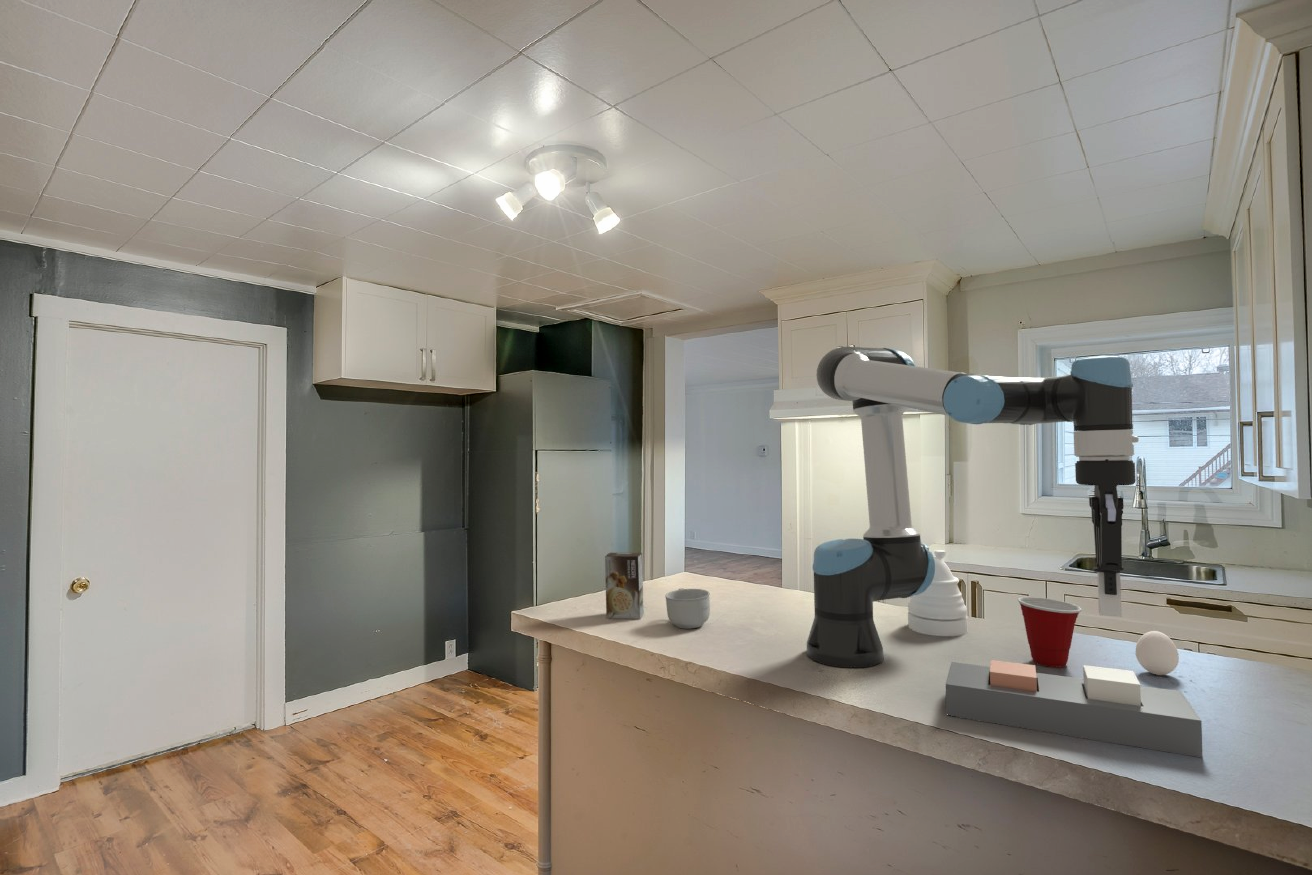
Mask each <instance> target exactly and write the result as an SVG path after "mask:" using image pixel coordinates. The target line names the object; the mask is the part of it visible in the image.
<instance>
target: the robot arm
mask: <svg viewBox="0 0 1312 875" xmlns="http://www.w3.org/2000/svg"><path fill="white" fill-rule="evenodd" d="M816 368H817V369H816V375H815V376H816V381H817V384H818V386H819V389H821V391H822V393H824V394H825V395H826V396H828V397H830V398H832V399H835V400H838V401H848V402H849V401H850V402H852V411H853V413H854V414H856V415H857V417H859V418H860V422H861V435H862V436H861V437H862V447H863V459H864V460H863V461H864V472H865V485H866V495H867V496H866V498H867V507H868V508H867V509H868V521H869V528H868V529H867V530H866V531H865V532H864V533H863V535H862V538H845V539H842V538H841V539H834V540H829V541H826V542H822V543H821V544H819V545H817V547H816V548H815V549H814V552H813V564H812V571H813V594H814V595H813V600H814V601H813V602H814V603H813V605H814V606H813V609H814V617H813V620H812V624H811V628H810V630H809V634H808V636H807V640H806V655H807V657H808V658H809V659H811V660H812V661H814V662H817V663H819V664H822V665H827V666H832V667H840V668H853V667H854V668H866V667H873V666H875V665H878V664H880V663H882V662H883V661H884V646H883V644H882V642H881V638H880V635H879V633H878V629H877V628H876V627H877V626H876V624H875V621H874V602H879V601H887V600H891V599H908V598H911V596H913V595H918V594H921V593H922V592H924V591H925V590H926V589H927V588H928V587H929V586H930V585H931V583H932V581H933V578H934V575H935V561H934V557H935V556H934V555H933V553H932V551H929V550H930V548H929V547H928V546H927V544H926V543H924V542H922V539H921V533H920V532H919V531H918V530H917V529H916V528H915V527H914V526H913V525H912V515H911V513H912V512H911V502H910V492H909V491H910V490H909V478H908V467H907V458H906V457H907V456H906V447H905V446H906V445H905V434H904V433H905V432H904V422H903V421H904V420H903V415H904V413H905V412H906V411H907V410H908V409H913V410H920V411H923V412H929V413H933V414H938V415H944V416H948V417H950V418H951V419H952V420H953V421H956V422H958V423H961V424H962V423H963V424H970V425H982V424H1011V425H1019V426H1033V425H1036V424H1038V425H1039V424H1051V423H1065V422H1067V423H1069V422H1070V423H1071V422H1073V455H1074V456H1075V457H1077V458H1078V460H1077V461H1076V462H1074V467H1075V469H1074V470H1075V471H1074V472H1075V473H1074V474H1075V483H1076V484H1078V485H1080V486H1094V487H1093V488H1094V491H1093V494H1094V496H1089V497H1088V503H1089V505H1088V506H1089V507H1090V508H1091V510H1090V511H1091V523H1092V525H1093V536H1094V537H1093V538H1094V551H1095V557H1094V562H1095V564H1096V566H1095V567H1093V572H1095V573H1097V574H1096V575H1097V597H1098V599H1097V600H1098V613H1099V616H1106V617H1119V618H1122V617H1123V612H1122V586H1121V572H1123V571H1124V566H1123V565H1122V561H1123V560H1122V558H1123V557H1122V556H1123V555H1122V554H1123V550H1122V548H1123V547H1122V544H1123V543H1122V542H1123V540H1122V536H1123V535H1122V534H1123V533H1122V530H1123V529H1122V526H1123V514H1124V508H1125V507H1124V498H1123V497H1120V496H1118V488H1117V486H1133V485H1134V484H1135V483H1136V481H1137V480H1136V462H1134V460H1132V459H1131V460H1130V457H1133V456H1134V455H1135V448H1134V447H1135V445H1134V443H1135V444H1136V443H1138V442H1139V436H1136V435H1133V434H1134V424H1133V388H1134V384H1133V381H1132V374H1131V365H1130V362H1129V360H1128V359H1127V358H1126V357H1123V356H1119V355H1118V356H1115V355H1107V356H1106V355H1105V356H1092V357H1086V358H1080V359H1076V360H1074V361H1073V362H1072V363H1071V370H1070V374H1069V373H1068V374H1064V375H1060V376H1059V375H1057V376H1050V377H1049V376H1047V377H1015V376H1014V377H1013V376H994V375H984V374H976V373H969V372H968V373H966V372H958V371H953V370H952V371H951V370H945V369H938V368H937V369H936V368H930V367H925V366H924V367H923V366H916V363H915V362H914V360H913V359H912V358H911V357H910V356H909V355H908V354H906V352H903V351H901V350H898V349H893V348H892V349H891V348H887V347H883V348H882V347H858V346H857V347H856V346H840V347H836V348H833V349H832V350H830V351H829V352H827V353H826V354H825V355H824V356H822V358H821V359H820V360H819V363H818V365H817V367H816Z"/></svg>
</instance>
